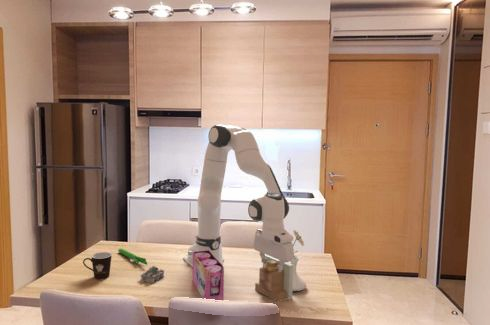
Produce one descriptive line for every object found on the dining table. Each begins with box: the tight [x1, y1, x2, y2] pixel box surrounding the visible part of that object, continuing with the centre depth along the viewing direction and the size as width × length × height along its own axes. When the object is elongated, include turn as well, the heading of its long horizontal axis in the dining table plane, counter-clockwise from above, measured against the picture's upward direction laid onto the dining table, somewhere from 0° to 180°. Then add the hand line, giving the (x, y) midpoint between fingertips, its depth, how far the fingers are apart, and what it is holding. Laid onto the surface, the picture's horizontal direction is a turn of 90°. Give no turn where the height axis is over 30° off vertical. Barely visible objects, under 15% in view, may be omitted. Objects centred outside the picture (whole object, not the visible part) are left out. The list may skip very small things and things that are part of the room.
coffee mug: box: [82, 251, 112, 280], centre depth 169 cm, size 12×9×10 cm
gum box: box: [192, 250, 225, 301], centre depth 156 cm, size 24×8×14 cm, turn 21°
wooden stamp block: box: [258, 261, 284, 293], centre depth 153 cm, size 8×6×11 cm
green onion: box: [117, 248, 148, 266], centre depth 191 cm, size 5×3×30 cm
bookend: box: [254, 254, 293, 303], centre depth 156 cm, size 16×7×14 cm, turn 40°
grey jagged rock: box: [139, 265, 165, 284], centre depth 168 cm, size 11×8×4 cm
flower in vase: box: [289, 229, 307, 292], centre depth 162 cm, size 13×11×25 cm
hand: (271, 266), depth 153 cm, fingers open, 8 cm apart
